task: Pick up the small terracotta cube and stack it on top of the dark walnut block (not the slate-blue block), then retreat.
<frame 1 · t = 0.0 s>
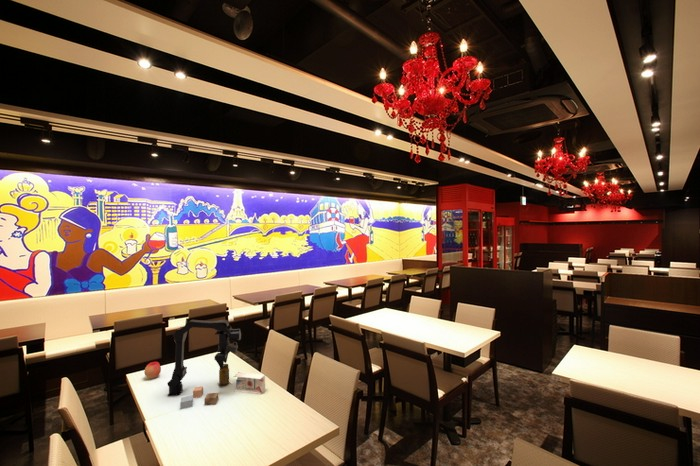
hand: (223, 365, 195), 15 cm above the table, fingers open, 9 cm apart
terracotta cube: (198, 396, 186), on the table
apple: (152, 378, 212), on the table
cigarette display: (250, 390, 192), on the table
condiment: (224, 384, 201), on the table
slate block: (186, 405, 176), on the table
walnut block: (211, 402, 179), on the table
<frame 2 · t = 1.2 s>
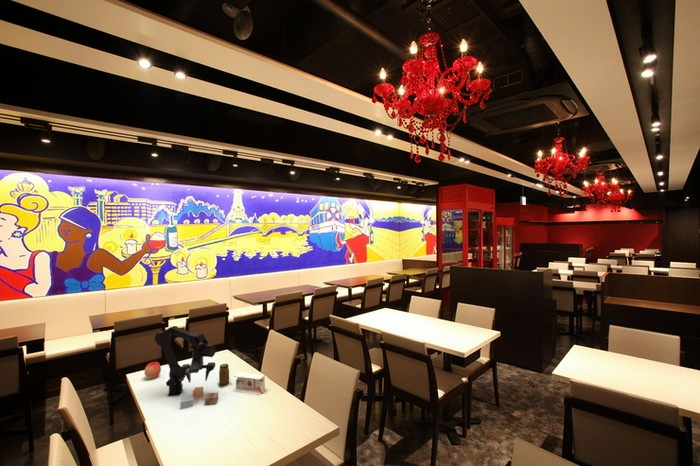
hand: (197, 381, 186), 9 cm above the table, fingers open, 9 cm apart
nothing on the table moved.
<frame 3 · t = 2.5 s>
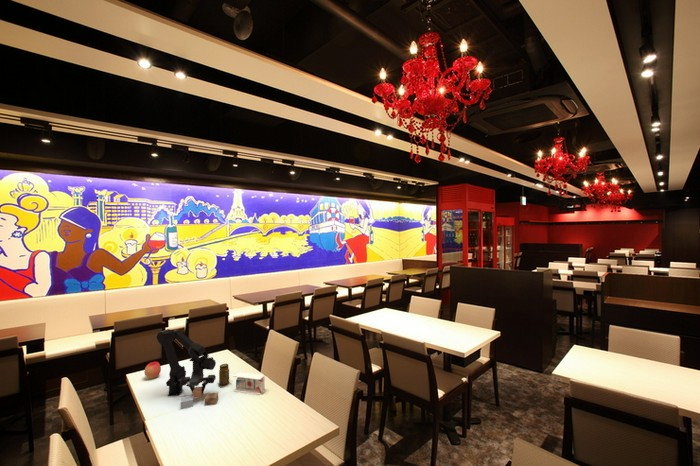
hand: (198, 394, 186), 1 cm above the table, fingers closed on terracotta cube, 4 cm apart
terracotta cube: (198, 395, 186), on the table, touching gripper
everything else where it was.
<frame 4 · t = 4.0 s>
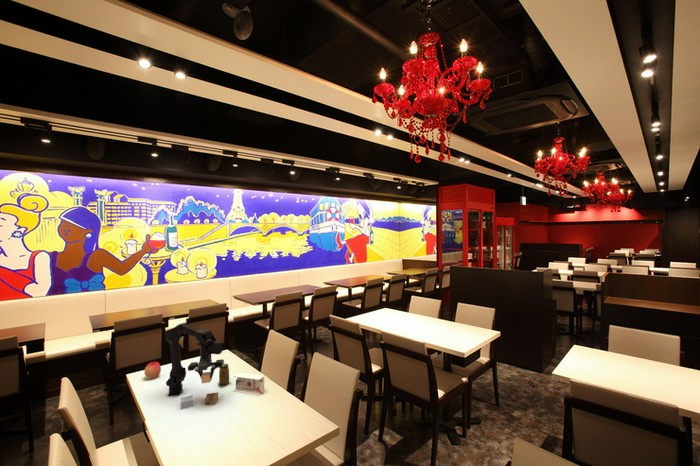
hand: (206, 379, 182), 12 cm above the table, fingers closed on terracotta cube, 4 cm apart
terracotta cube: (206, 381, 182), point 11 cm above the table, touching gripper
everything else where it was.
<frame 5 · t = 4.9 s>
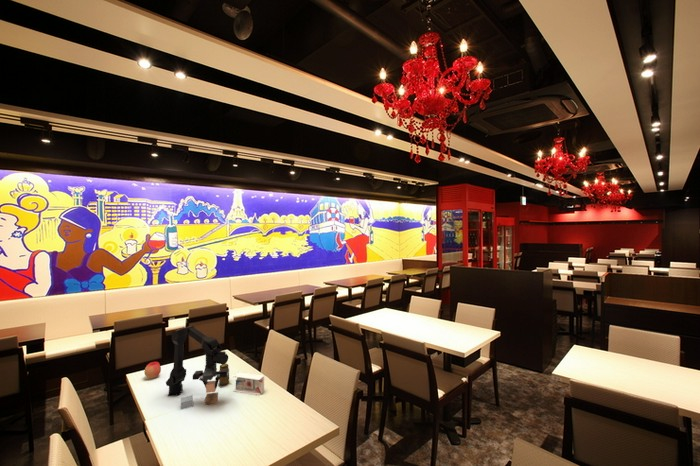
hand: (211, 388, 179), 8 cm above the table, fingers closed on terracotta cube, 4 cm apart
terracotta cube: (211, 390, 179), point 7 cm above the table, touching gripper
everything else where it was.
when the fingers open (6 cm above the table, at t = 5.5 s): terracotta cube drops 1 cm, resting on walnut block.
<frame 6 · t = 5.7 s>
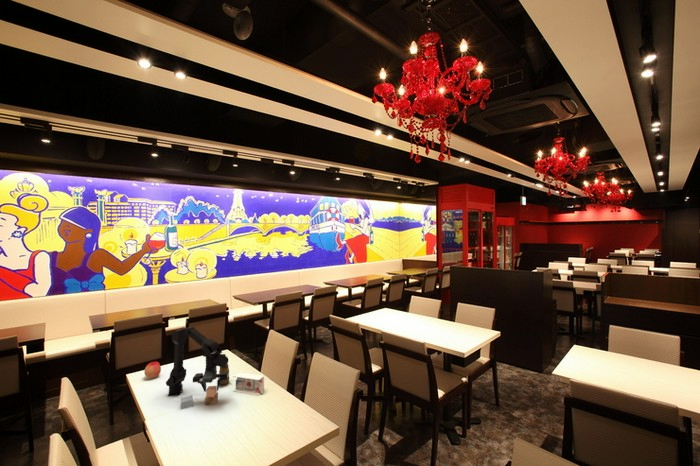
hand: (211, 391, 179), 6 cm above the table, fingers open, 6 cm apart
terracotta cube: (211, 395, 179), point 4 cm above the table, touching walnut block
walnut block: (211, 402, 179), on the table, touching terracotta cube
everything else where it was.
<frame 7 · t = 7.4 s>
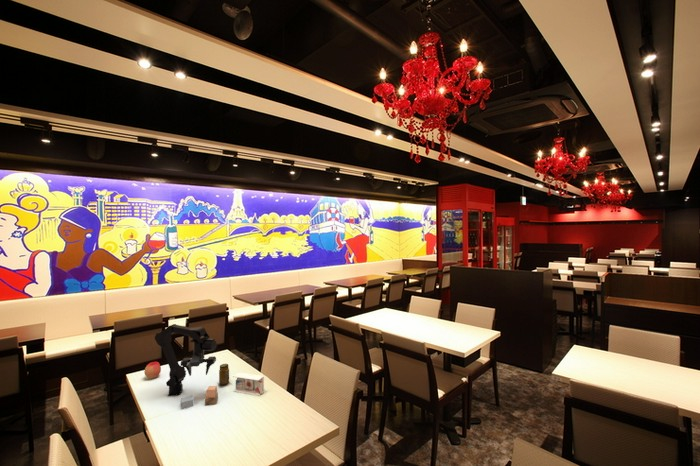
hand: (198, 375, 187), 12 cm above the table, fingers open, 9 cm apart
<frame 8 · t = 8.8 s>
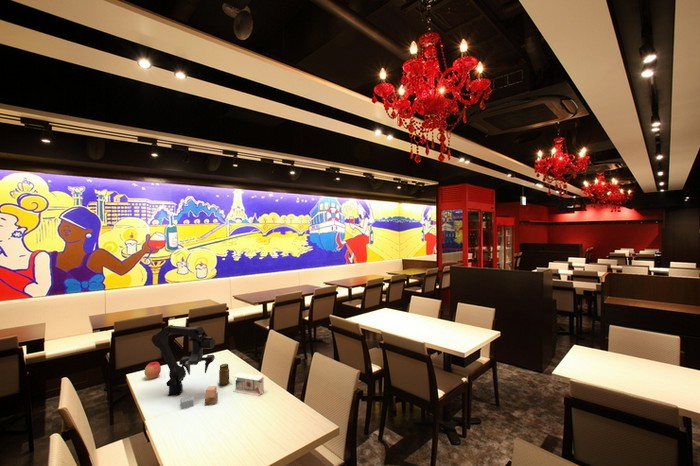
hand: (197, 373, 188), 13 cm above the table, fingers open, 9 cm apart
terracotta cube: (211, 395, 179), point 4 cm above the table
walnut block: (211, 402, 179), on the table
at the end: terracotta cube 0.2 cm off-centre on the walnut block, point 4.0 cm above the walnut block's base; terracotta cube tilted 1°; the gripper is holding nothing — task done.
